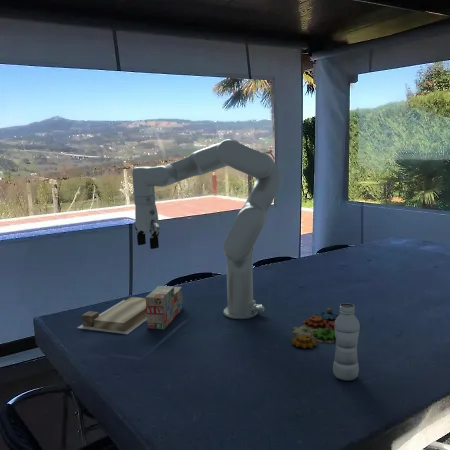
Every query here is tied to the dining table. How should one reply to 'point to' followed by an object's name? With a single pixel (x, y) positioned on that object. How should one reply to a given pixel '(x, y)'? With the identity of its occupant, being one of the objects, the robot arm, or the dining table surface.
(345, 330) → the plastic bottle
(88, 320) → the walnut cube
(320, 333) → the gear puzzle
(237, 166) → the robot arm
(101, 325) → the oak plinth
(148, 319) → the stack of blocks
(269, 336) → the dining table surface
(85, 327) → the cream tile
